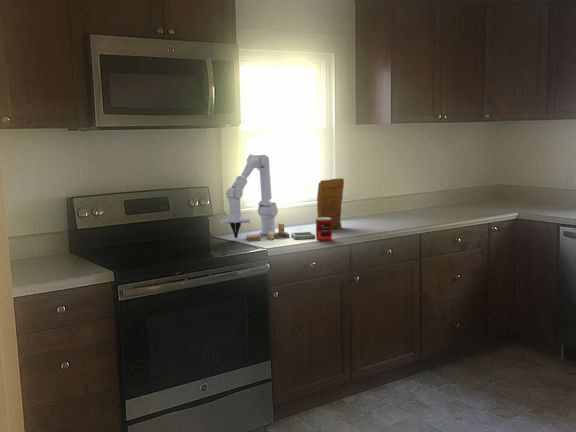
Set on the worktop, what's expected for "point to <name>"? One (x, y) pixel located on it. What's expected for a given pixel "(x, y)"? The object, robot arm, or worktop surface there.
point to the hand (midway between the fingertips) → (235, 237)
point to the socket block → (281, 235)
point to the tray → (303, 235)
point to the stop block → (271, 235)
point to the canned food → (324, 229)
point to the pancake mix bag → (330, 200)
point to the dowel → (281, 228)
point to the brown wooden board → (253, 237)
